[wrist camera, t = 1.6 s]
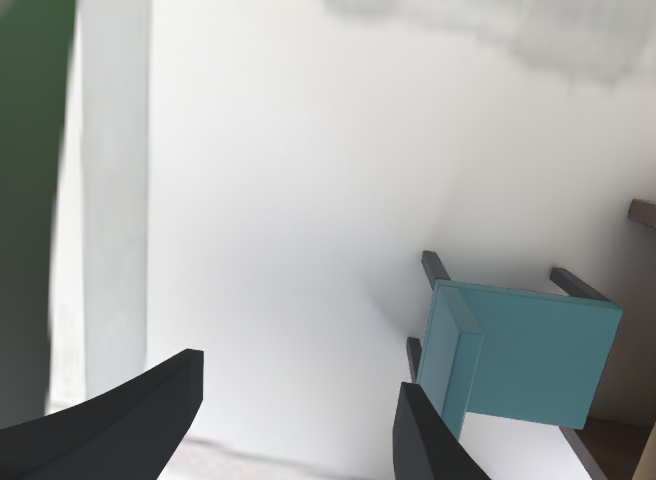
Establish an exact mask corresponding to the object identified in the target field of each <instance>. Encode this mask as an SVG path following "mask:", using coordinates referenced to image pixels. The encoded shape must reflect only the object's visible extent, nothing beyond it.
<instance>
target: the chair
mask: <svg viewBox="0 0 656 480" xmlns="http://www.w3.org/2000/svg"><path fill="white" fill-rule="evenodd" d="M421 262H422V264H423V267H424V270H425V272H426V275H427V277H428V280H429V282H430V285H431V287H432V290H433V296H432V302H431V307H430V312H429V317H428V322H427V328H426V333H425V338H424V343H423V348H421V344H420V340H419V339H418V338H411V337H408V339H407V344H406V349H407V355H408V361H409V367H410V373H411V379H412V383H413V384H420V386H421V387H422V388H423V390H424V392H425V393H426V395H427V397H428V398H429V400H430V401H431V403H432V405H433V406H434V408H435V409H436V411H437V412H438V414H439V415H440V417H441V418H442V420H443V421H444V423H445V424H446V426H447V427H448V428H449V430H450V431H451V433H452V434H453V435H454V437H455V438H456V440H457V441H458V442H459V437H460V433H461V429H462V425H463V421H464V417H465V413H466V411H467V412H473V413H479V414H486V415H492V416H498V417H505V418H511V419H517V420H524V421H530V422H536V423H543V424H549V425H555V426H562V427H568V428H574V429H583V427H584V424H585V421H586V418H587V416H588V413H589V410H590V407H591V404H592V401H593V398H594V395H595V392H596V390H597V387H598V384H599V381H600V378H601V375H602V372H603V369H604V366H605V364H606V361H607V358H608V355H609V352H610V349H611V346H612V343H613V340H614V338H615V335H616V332H617V329H618V326H619V323H620V320H621V317H622V315H623V312H624V311H623V309H622V308H620V307H619V306H618V305H616V304H615V303H613V302H612V301H611V300H609V299H608V298H606V297H605V296H603V295H602V294H601V293H599V292H598V291H596V290H595V289H593V288H592V287H590V286H589V285H588V284H586V283H585V282H583V281H582V280H580V279H579V278H577V277H576V276H575V275H573V274H572V273H570V272H569V271H567V270H566V269H563V268H555V267H554V268H552V271H551V275H550V280H552V281H553V282H554V283H555V284H557V285H558V286H559V287H560V288H561V289H563V290H564V291H565V292H566V293H568V294H569V295H570V296H571V297H570V296H563V295H555V294H548V293H540V292H533V291H525V290H518V289H510V288H502V287H495V286H487V285H480V284H472V283H465V282H457V281H451V279H450V278H449V276H448V274H447V272H446V270H445V268H444V267H443V265H442V263H441V261H440V259H439V258H438V256H437V254H436V252H430V251H423V255H422V261H421Z"/></svg>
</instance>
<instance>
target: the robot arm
mask: <svg viewBox="0 0 656 480" xmlns="http://www.w3.org/2000/svg"><path fill="white" fill-rule="evenodd" d="M203 365H204V351H200V350H194V349H185V350H183V351H181V352H180V353H178V354H176V355H174V356H173V357H171V358H169V359H167V360H166V361H164V362H162V363H160V364H159V365H157V366H155V367H153V368H152V369H150V370H148V371H146V372H145V373H143V374H141V375H139V376H137V377H135V378H133V379H131V380H130V381H128V382H126V383H124V384H122V385H120V386H118V387H116V388H114V389H112V390H110V391H108V392H106V393H104V394H101V395H99V396H97V397H95V398H92V399H90V400H88V401H85V402H83V403H80V404H78V405H75V406H73V407H70V408H67V409H64V410H62V411H59V412H56V413H53V414H50V415H47V416H45V417H42V418H39V419H36V420H32V421H29V422H26V423H22V424H19V425H15V426H12V427H8V428H4V429H1V430H0V480H157V478H158V477H159V475H160V473H161V472H162V470H163V469H164V467H165V466H166V464H167V463H168V461H169V459H170V458H171V456H172V455H173V453H174V452H175V450H176V449H177V447H178V445H179V444H180V442H181V441H182V439H183V437H184V436H185V434H186V433H187V431H188V429H189V428H190V426H191V424H192V422H193V420H194V418H195V416H196V414H197V412H198V410H199V407H200V405H201V403H202V401H203ZM393 464H394V473H395V480H491V479H490V478H489V477H488V476H487V475H486V473H485V472H484V471H483V470H482V469H481V468H480V467H479V466H478V465H477V464H476V463H475V462H474V460H473V459H472V458H471V457H470V456H469V455H468V453H467V452H466V451H465V450H464V448H463V447H462V446H461V445H460V443H459V442H458V441H457V440H456V438H455V437H454V435H453V434H452V433H451V431H450V430H449V428H448V427H447V426H446V424H445V423H444V421H443V420H442V418H441V417H440V415H439V414H438V412H437V411H436V409H435V408H434V406H433V405H432V403H431V401H430V400H429V398H428V397H427V395H426V393H425V392H424V390H423V388H422V387H421V386H420V384H413V383H407V382H401V388H400V393H399V399H398V404H397V410H396V415H395V421H394V426H393Z"/></svg>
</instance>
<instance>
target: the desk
mask: <svg viewBox="0 0 656 480" xmlns="http://www.w3.org/2000/svg"><path fill="white" fill-rule="evenodd" d="M627 218H629V219H632V220H635V221H638V222H641V223H644V224H647V225H650V226H653V227H656V201H647V200H639V199H633V201H632V205H631V208H630V211H629V214H628V217H627ZM559 429H560V430H561V432H562V433H563V435H564V436H565V438H566V440H567V441H568V443H569V444H570V446H571V447H572V449H573V451H574V452H575V454H576V455H577V457H578V458H579V460H580V461H581V463H582V465H583V466H584V468H585V469H586V471H587V472H588V474H589V476H590V477H591V479H592V480H656V422H655V424H654V427H653V428H647V427H641V426H634V425H628V424H621V423H615V422H609V421H602V420H596V419H589V418H586V421H585V424H584V427H583V429H574V428H568V427H562V426H559Z"/></svg>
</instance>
